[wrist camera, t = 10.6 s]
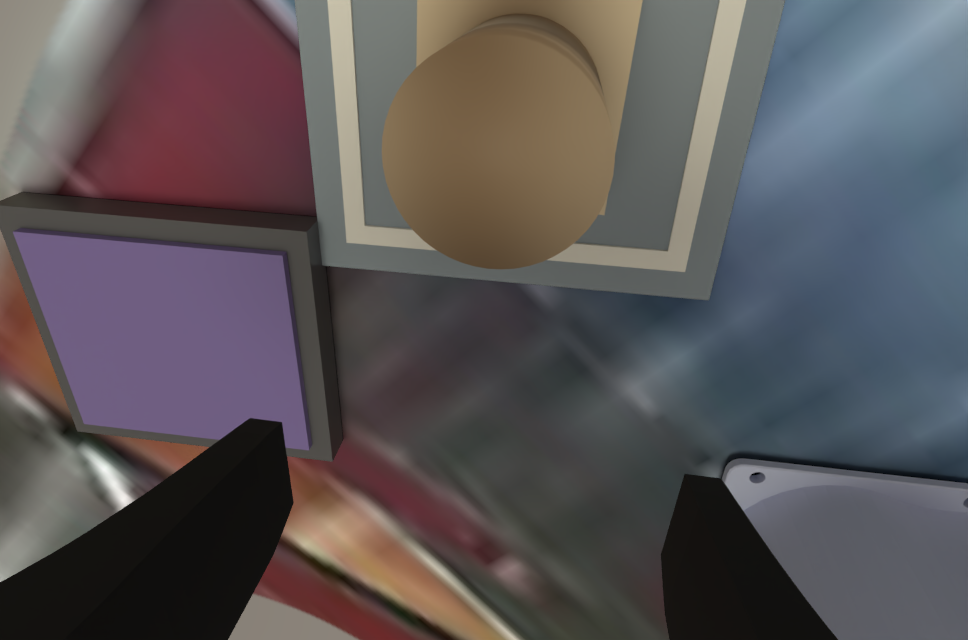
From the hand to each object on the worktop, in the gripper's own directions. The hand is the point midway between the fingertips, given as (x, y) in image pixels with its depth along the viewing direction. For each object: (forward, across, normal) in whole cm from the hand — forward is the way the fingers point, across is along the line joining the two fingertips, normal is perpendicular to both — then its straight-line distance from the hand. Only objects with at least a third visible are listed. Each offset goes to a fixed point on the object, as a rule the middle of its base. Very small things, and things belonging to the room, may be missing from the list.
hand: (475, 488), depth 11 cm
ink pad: (+9, +11, +3) cm, 15 cm away
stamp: (+9, 0, -5) cm, 10 cm away
